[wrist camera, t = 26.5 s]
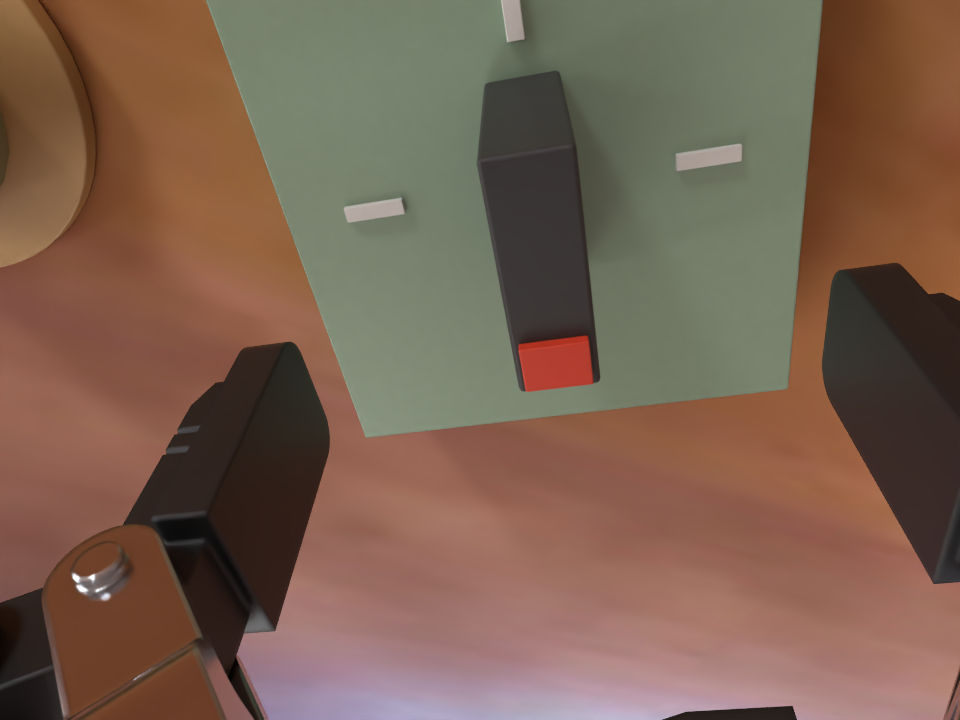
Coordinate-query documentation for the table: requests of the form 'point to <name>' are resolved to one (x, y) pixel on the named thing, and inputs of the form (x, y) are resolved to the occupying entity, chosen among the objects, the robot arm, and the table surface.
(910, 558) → the table surface
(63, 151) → the coaster
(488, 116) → the black block red tip
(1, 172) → the olive round-headed cylinder
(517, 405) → the control panel
